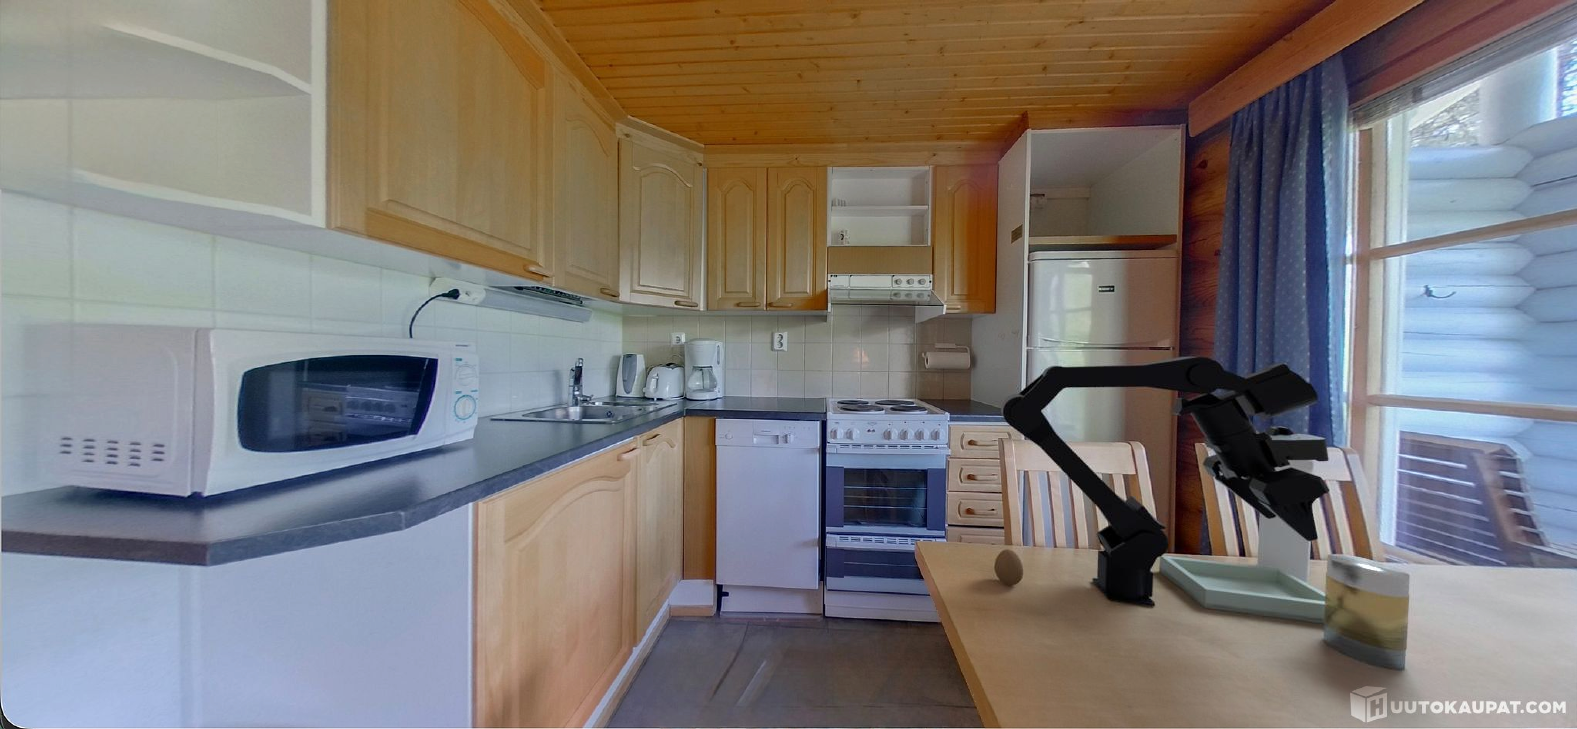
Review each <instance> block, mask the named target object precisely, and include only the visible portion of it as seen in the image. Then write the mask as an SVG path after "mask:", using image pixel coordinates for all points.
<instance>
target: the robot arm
mask: <svg viewBox="0 0 1577 729" xmlns="http://www.w3.org/2000/svg"><path fill="white" fill-rule="evenodd" d="M1067 388H1069V389H1070V388H1076V389H1077V388H1153V389H1161V390H1168V391H1175V392H1183V393H1191V394H1197V395H1198V394H1199V396H1196V397H1192V398H1191V399H1190V398H1189V399H1187V398H1182V397H1177V398H1175V399H1176V400H1175V404H1174V406H1172V408H1171V409H1170V412H1171V414H1173V415H1177V416H1182V417H1184V416H1187V415H1191V416H1192V418H1193V420H1194V421H1195V423H1196V424H1197V426H1198V428H1199V429H1200V431H1201V432H1202V434H1203V436H1204V437H1205V440H1203V443H1204V445H1205V446H1206V448H1209V449H1212V450H1213V452H1214V455H1210V456H1206V457H1205V458H1204V461H1203V463H1202V466H1203V467H1204V469H1205V470H1206V472H1207V474H1208V475H1210V476H1212V477H1214V480H1215V481H1217V482H1218V483H1220V484H1221V485H1222V486H1224V487H1225V488H1227V489H1228V490H1229V491H1230V492H1231V493H1233V494H1234V495H1236V496H1237V497H1238V498H1240V499H1241V500H1242V501H1244V502H1245V503H1246V504H1247V505H1249V506H1250V507H1251V508H1252V509H1254V510H1255V511H1257V512H1258V513H1259V514H1260V513H1261V514H1262V515H1263V516H1265V517H1266V518H1268V519H1271V518H1275V517H1276V516H1277V517H1279V518H1280V519H1281V520H1282V521H1283V522H1285V523H1286V524H1287V525H1288V526H1289V527H1291V528H1292V529H1293V530H1294V531H1296V532H1297V533H1298V534H1299V535H1301V536H1302V537H1303V538H1304V539H1306V540H1307V541H1311V542H1312V541H1317V540H1318V538H1319V537H1318V532H1317V527H1316V522H1315V518H1314V512H1313V511H1314V509H1313V504H1314V503H1315V501H1316V500H1317V499H1320V498H1322V497H1324V495H1325V494H1328V493H1329V492H1330V489H1329V487H1328V485H1327V483H1325V481H1324V480H1323V478H1322V477H1321V476H1319V475H1315V474H1314V473H1313V474H1314V475H1313V474H1310V473H1307V472H1304V471H1301V470H1298V469H1295V468H1292V467H1291V468H1287V469H1283V470H1280V471H1275V470H1276V469H1275V468H1276V467H1284V466H1288V465H1290V463H1289V462H1288V460H1311V461H1316V462H1329V460H1330V459H1329V453H1328V452H1329V451H1328V446H1327V441H1326V440H1327V439H1326V438H1325V437H1322V436H1317V435H1312V434H1303V433H1294V432H1293V431H1292V430H1291V429H1290V428H1289V427H1285V426H1269V427H1268V430H1266V432H1265V431H1261V430H1258V429H1257V428H1256V427H1255V425H1254V424H1253V422H1252V420H1250V418H1249V416H1248V415H1250V416H1252V417H1253V416H1256V415H1257V416H1258V417H1260V418H1262V419H1265V420H1267V419H1272V418H1274V417H1277V416H1281V415H1283V414H1286V413H1291V412H1293V411H1296V410H1299V409H1302V408H1304V407H1308V406H1312V405H1315V404H1316V403H1318V400H1319V399H1318V398H1319V397H1318V393H1317V391H1316V390H1315V387H1314V386H1313V385H1312V383H1310V382H1308V381H1307V380H1305V379H1304V378H1303V377H1302V376H1300V375H1299V373H1298V374H1297V372H1294V371H1293V370H1291V369H1290V367H1289V366H1288V365H1287V364H1286V363H1273V364H1271V365H1269V366H1266V367H1264V368H1263V369H1261V370H1259V371H1255V372H1253V373H1250V374H1248V375H1245V376H1241V375H1238V374H1235V373H1233V372H1230V371H1228V370H1225V369H1224V367H1223V366H1222V364H1221V363H1219V362H1218V361H1216V360H1215V359H1214V358H1211V357H1208V356H1179V357H1175V358H1174V357H1172V358H1167V359H1162V360H1157V361H1156V360H1155V361H1152V362H1147V363H1141V364H1121V365H1118V364H1117V365H1085V366H1079V365H1078V366H1062V365H1051V366H1049V367H1047V368H1045V369H1044V370H1043V372H1042V373H1041V374H1040V375H1039V376H1037V378H1036V379H1034V380H1033V381H1031V382H1030V383H1029V384H1028V385H1027V386H1025V388H1023V389H1021V391H1020V392H1019V393H1015V394H1011V395H1008V396H1007V397H1005V399H1003V401H1002V404H1001V405H1000V407H1001V408H1000V413H1001V414H1002V417H1003V419H1004V420H1005V422H1006V423H1007V424H1008V425H1009V426H1010V427H1012V428H1013V429H1014V430H1015V431H1017V432H1019V434H1021V435H1023V437H1026V439H1027V440H1030V441H1031V442H1032V443H1034V444H1035V445H1037V447H1039V448H1040V449H1041V450H1042V451H1043V452H1044V453H1045V454H1046V455H1047V456H1048V457H1049V458H1050V459H1051V460H1052V461H1053V463H1055V464H1056V466H1058V467H1059V469H1060V470H1061V471H1062V472H1063V473H1065V475H1066V476H1067V478H1069V479H1070V480H1071V481H1072V482H1073V484H1075V485H1076V486H1077V487H1078V488H1079V490H1081V492H1083V494H1084V495H1085V496H1087V498H1088V499H1089V500H1090V501H1091V502H1092V503H1093V504H1094V505H1095V506H1096V507H1097V508H1098V510H1099V511H1100V513H1101V514H1102V516H1103V517H1104V519H1105V520H1106V522H1107V524H1108V525H1107V526H1106V527H1104V528H1102V529H1101V530H1099V531H1097V532H1096V537H1097V540H1098V542H1099V544H1100V546H1102V548H1103V549H1104V550H1100V549H1099V550H1097V573H1096V574H1097V575H1096V577H1092V580H1091V581H1092V582H1093V583H1094V585H1095V586H1096V587H1097V588H1098V589H1099V590H1100V591H1101V593H1102V594H1103V595H1104V596H1105V597H1106V598H1107V599H1108V600H1110V601H1114V602H1121V603H1125V604H1126V603H1127V604H1128V603H1129V604H1134V605H1135V604H1136V605H1141V606H1148V607H1155V606H1156V602H1155V601H1154V600H1153V599H1152V597H1153V595H1154V594H1153V592H1154V573H1153V572H1152V569H1153V566H1154V564H1155V563H1156V561H1157V559H1158V558H1160V556H1162V555H1163V556H1164V554H1166V552H1167V551H1168V549H1169V542H1170V541H1169V538H1168V536H1167V534H1166V533H1165V531H1164V530H1166V528H1167V527H1166V526H1165V525H1164V524H1162V522H1160V521H1159V520H1158V519H1157V518H1156V517H1154V516H1153V515H1152V513H1150V512H1149V511H1148V509H1147V508H1146V507H1145V506H1144V504H1142V503H1141V502H1140V501H1139V500H1138V499H1136V498H1135V497H1134V496H1133V495H1131V496H1129V497H1128V498H1127V499H1126V500H1125V499H1124V498H1122V497H1121V496H1119V495H1118V494H1117V493H1115V492H1114V491H1113V489H1111V487H1109V486H1108V485H1107V483H1105V481H1104V480H1103V479H1102V478H1101V477H1099V476H1098V474H1097V473H1095V471H1094V470H1093V469H1092V468H1090V466H1088V465H1087V463H1086V462H1085V460H1083V459H1082V458H1081V457H1080V456H1079V455H1078V454H1077V453H1076V452H1075V451H1074V450H1073V449H1072V448H1071V447H1070V446H1069V445H1068V444H1067V443H1066V441H1064V440H1063V439H1062V438H1061V437H1060V435H1058V434H1057V432H1056V431H1055V429H1054V428H1053V426H1052V425H1051V423H1050V422H1049V420H1048V419H1047V417H1046V416H1045V415H1044V412H1043V410H1044V409H1045V408H1046V407H1047V406H1049V405H1050V403H1051V402H1052V401H1053V400H1054V399H1055V398H1056V397H1057V396H1058V395H1059V393H1060V392H1062V391H1063V390H1064V389H1067ZM1217 390H1224V391H1225V390H1226V391H1227V392H1223V393H1220V394H1217V395H1215V394H1212V393H1215V392H1216V391H1217ZM1247 414H1248V415H1247Z"/></svg>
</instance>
